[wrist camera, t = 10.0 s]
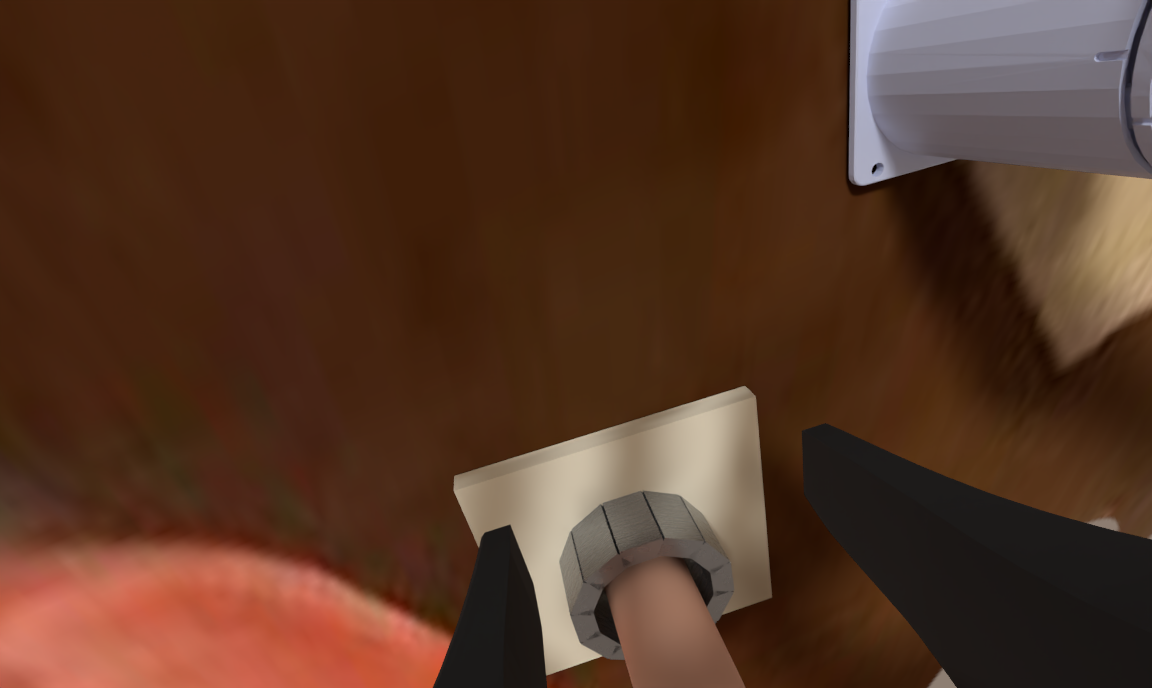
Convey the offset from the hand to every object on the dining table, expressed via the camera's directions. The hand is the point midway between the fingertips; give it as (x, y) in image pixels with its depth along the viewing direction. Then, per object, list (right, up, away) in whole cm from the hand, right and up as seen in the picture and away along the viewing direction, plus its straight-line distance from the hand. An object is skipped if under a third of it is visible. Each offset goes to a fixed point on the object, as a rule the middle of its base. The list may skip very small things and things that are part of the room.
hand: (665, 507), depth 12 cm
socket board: (+1, -6, +15) cm, 16 cm away
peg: (+1, -7, +14) cm, 15 cm away
